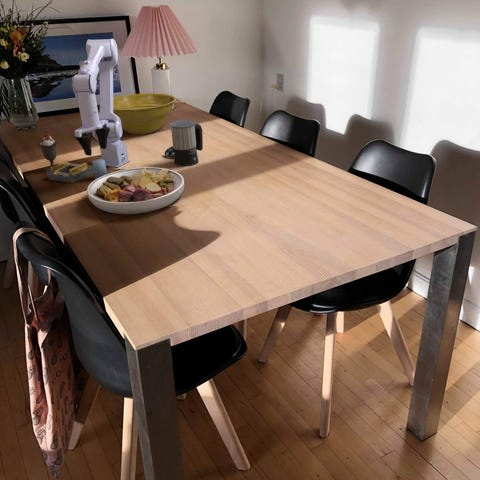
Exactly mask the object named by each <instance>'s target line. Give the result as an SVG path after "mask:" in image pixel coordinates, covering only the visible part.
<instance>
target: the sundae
mask: <svg viewBox="0 0 480 480" xmlns="http://www.w3.org/2000/svg"><path fill="white" fill-rule="evenodd" d="M48 132H49V130H46V133H45V135H43V136H42V139H41V141H40V142H38V143H37V146H38V147H39V148H40V150H41V151H42V154H43V157H44V159H46V161H49V165H50V167H52V166H54V165H55V163H54V162H55V161H54V160H55V159H56V157H57V147H56V146H57V143H58V141H56V140H54V139H53V137H52V136H50V134H49V133H48ZM50 167H49V168H47V169H46V173H47V172H49V171H51V168H50Z"/></svg>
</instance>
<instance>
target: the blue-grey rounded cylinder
mask: <svg viewBox="0 0 480 480" xmlns="http://www.w3.org/2000/svg"><path fill="white" fill-rule="evenodd" d="M91 166H92V168H93V176H94V180H96V179H97V178H99V177H101V176H104V175H106V174H108V172H107V166H106V165H105V160H103V159H102V158H98V159H93V160H92V161H91Z"/></svg>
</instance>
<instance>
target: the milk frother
mask: <svg viewBox="0 0 480 480" xmlns="http://www.w3.org/2000/svg"><path fill="white" fill-rule="evenodd" d="M169 126H170V129H171V130H170V132H171V139H172V140H171V141H172V146H170V147H168V148H166V150H165V151H164V156H165V157H166V158H170V159H173V164H174V165H175V166H178V167H191V166H193V165H197V164H198V163H199V157H198V151H200V152H201V151H203V150H204V149H203V148H204V143H203V139H204V137H203V127H202V125H201V124H199V123H198V122H195V121H194V120H189V119H188V120H187V119H185V120H184V119H182V120H176V121H175V120H174V121H173V122H171V123H169Z"/></svg>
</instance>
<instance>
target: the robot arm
mask: <svg viewBox="0 0 480 480" xmlns="http://www.w3.org/2000/svg"><path fill="white" fill-rule="evenodd" d="M85 50H86V51H85V52H86V53H87V58H86V60H84V61H83V62H82V64H81V66H80V68H79V70H78V73H77V74H74V76H72V79H71V88H72V91H73V93H74V95H75V99H76V100H77V103H78V107H79V113H80V119H81V124H82V125H81V126H80V127H79V128H78V129H75V130H74V131H73V132H74V138H75V140H76V141H77V142H78V144H79V145H80V147H81V148H82V150H83V152H84V154H85V156H87V157H91V156H93V155H92V154H93V153H92V151H93V150H92V136H93V139H95V140H96V141H97V142H98V145H99V150H100V156H101V159H103V160H105V165H106V167H112V168H120V167H122V166H123V165H125V164H127V163H128V162H130V161H131V159H129V153H128V147H127V144H126V142H125V141H122V140H121V138H122V136H123V128H122V126H121V120H120V118H119V117H118V116H117V115H115V114H114V113H113V98H114V68H115V67H116V66H118V62H119V61H118V60H119V57H118V52H119V51H118V45H117V42H116V40H115V39H114V38H110V39H108V38H107V39H105V38H104V39H87V41H86V43H85ZM98 75H99V108H98V103H97V98H96V91H97V83H98V81H97V79H98ZM98 109H99V110H98ZM89 133H91V134H92V136H91V135H88V134H89Z"/></svg>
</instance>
